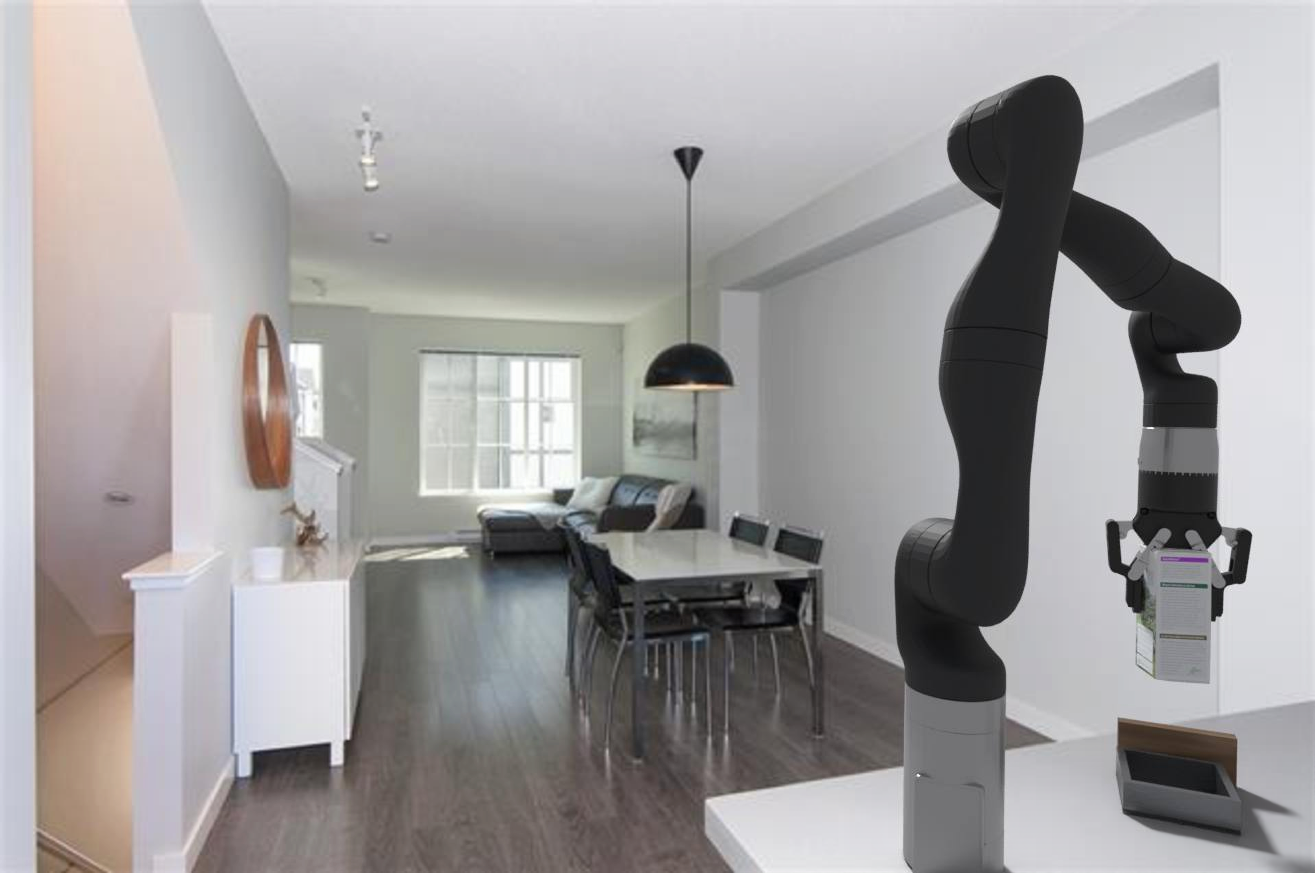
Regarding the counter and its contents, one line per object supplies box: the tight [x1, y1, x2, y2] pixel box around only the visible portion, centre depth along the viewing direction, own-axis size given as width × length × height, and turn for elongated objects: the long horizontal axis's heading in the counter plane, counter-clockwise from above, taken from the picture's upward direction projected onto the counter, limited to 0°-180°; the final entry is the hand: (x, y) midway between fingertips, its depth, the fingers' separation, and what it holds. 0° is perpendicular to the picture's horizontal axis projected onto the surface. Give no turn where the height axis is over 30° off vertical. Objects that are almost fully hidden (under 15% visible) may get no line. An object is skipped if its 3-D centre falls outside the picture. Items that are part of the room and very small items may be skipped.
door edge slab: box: [1116, 716, 1238, 791], centre depth 96 cm, size 2×12×6 cm, turn 64°
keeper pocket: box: [1115, 745, 1242, 836], centre depth 90 cm, size 11×11×4 cm
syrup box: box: [1135, 543, 1213, 685], centre depth 90 cm, size 6×6×14 cm
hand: (1172, 615), depth 90 cm, fingers closed on syrup box, 6 cm apart
